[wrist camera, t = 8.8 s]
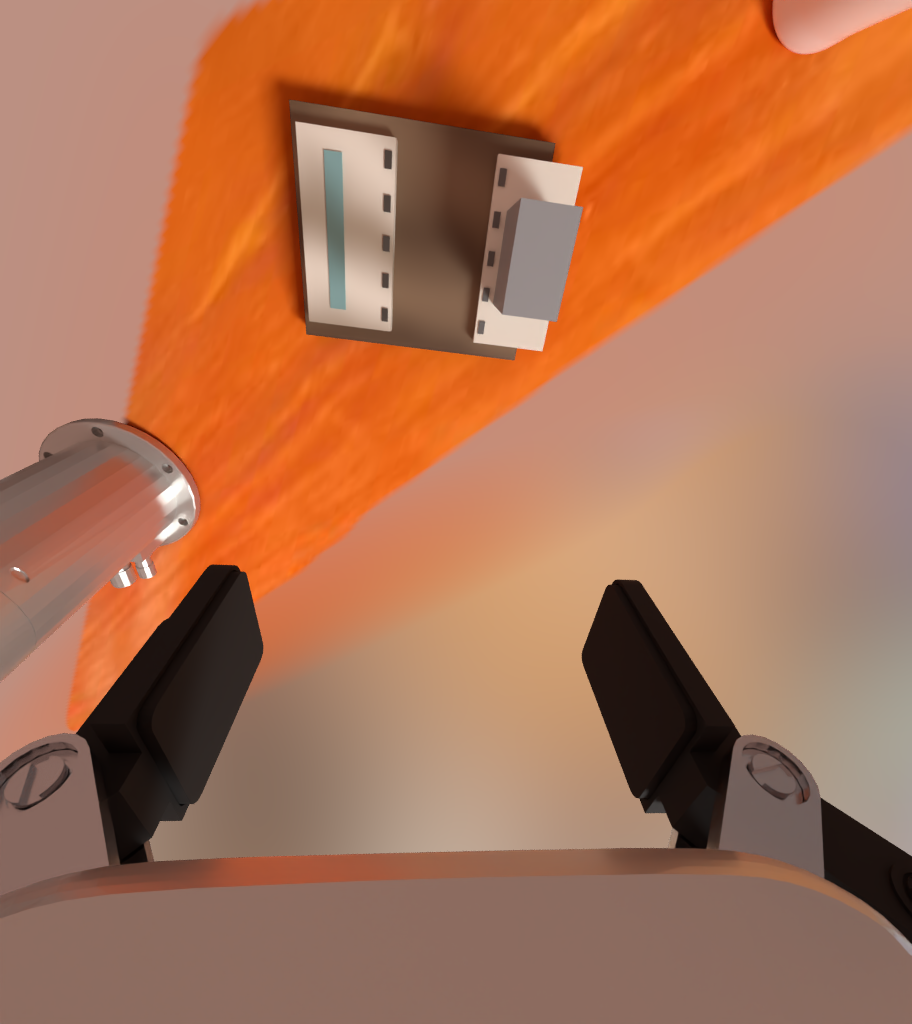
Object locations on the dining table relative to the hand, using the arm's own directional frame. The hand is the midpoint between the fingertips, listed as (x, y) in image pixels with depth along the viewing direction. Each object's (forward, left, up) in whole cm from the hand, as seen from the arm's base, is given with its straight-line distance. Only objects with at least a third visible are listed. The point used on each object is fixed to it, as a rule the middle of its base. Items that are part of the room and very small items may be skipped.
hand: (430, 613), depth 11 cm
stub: (+8, -4, -23) cm, 25 cm away
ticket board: (+8, +3, -25) cm, 26 cm away
